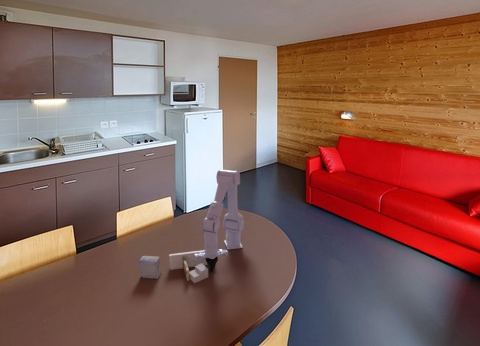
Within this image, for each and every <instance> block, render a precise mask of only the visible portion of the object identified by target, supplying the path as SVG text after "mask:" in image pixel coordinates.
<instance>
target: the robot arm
mask: <svg viewBox="0 0 480 346" xmlns="http://www.w3.org/2000/svg"><path fill="white" fill-rule="evenodd" d="M240 175H241V174H240V172H239V171H238V170H228V169H222V168H221V169H218V170H217V172H216V183H217V188H216V192H215V196H214V199H213V200H214V201H212V202H211V203H210V205H209V207H208V211H207V213H206V217H205V218H203V219H202V222H201V227H200V228H201V231H202V234H203V236H204V238H203V239H204V240H203V241H204V242H203V243H204V250H205V251H203V252H200V253H196V254H195V260H197V259H199V258H205V259H206V262H207V264H208V265H207V266H208V270H209V273H214V272H215V271H214V270H215V267H216V265H217V263H218V261H219V257H221V256H225V257H227V256H228V255H229V253H228V250H235V249H241V248H242V249H243V247H244V246H243V244H242V243H241V232H242V231H243V229H244V226H245V220H244V216H243V215H242V214H241V213H240V212H239V211H238V207H239V206H238V186H239V185H240V184H241V176H240ZM226 193H227V195H226ZM226 196H227V213H225V214H224V216H223V222H222V226H223V228H224V229H225V240H223V242H224V244H225V247H226V249H218V244H219V243H218V231H219V229H220V226H221V219H220V217H222V216H221V215H222V212H223V209H224V205H223V201H224V199H225V197H226Z"/></svg>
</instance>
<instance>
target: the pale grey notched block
mask: <svg viewBox="0 0 480 346" xmlns="http://www.w3.org/2000/svg"><path fill="white" fill-rule="evenodd" d="M207 278H209V267H207V265H203V264H199V265H197V266H195V267H194V269H192V270H189V281H192V282H193V283H194V284H196V283H199V282H201V281H202V280H205V279H207Z"/></svg>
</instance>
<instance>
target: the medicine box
mask: <svg viewBox="0 0 480 346" xmlns="http://www.w3.org/2000/svg"><path fill="white" fill-rule="evenodd" d="M138 265H139V266H138V267H139V276H140V278H141V277H143V278H142V279H157V280H158V279H159V277H160V275H161V274H162V270H161V269H162V268H161V257H160V256H154V255H142V256H141V258H139V260H138Z"/></svg>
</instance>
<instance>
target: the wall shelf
mask: <svg viewBox="0 0 480 346" xmlns="http://www.w3.org/2000/svg"><path fill="white" fill-rule="evenodd" d="M203 251H205V249H202V250H194V251H186V252H178V253H170V254H168V256H169V269H170V271H174V270H181V269H183V270H184V260H186V263H187V266H188V269H189V268H195V266H197V265H199V264H203V265H204V266H209V265H208V264H207V262H206V259H205V258H199V259H197V260H195V254H196V253H200V252H203Z"/></svg>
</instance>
